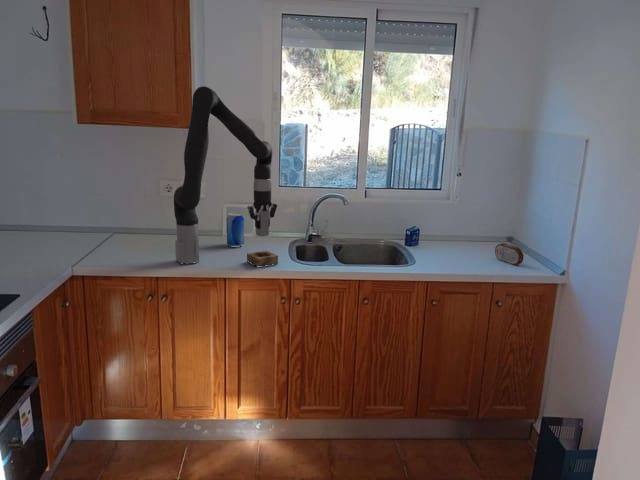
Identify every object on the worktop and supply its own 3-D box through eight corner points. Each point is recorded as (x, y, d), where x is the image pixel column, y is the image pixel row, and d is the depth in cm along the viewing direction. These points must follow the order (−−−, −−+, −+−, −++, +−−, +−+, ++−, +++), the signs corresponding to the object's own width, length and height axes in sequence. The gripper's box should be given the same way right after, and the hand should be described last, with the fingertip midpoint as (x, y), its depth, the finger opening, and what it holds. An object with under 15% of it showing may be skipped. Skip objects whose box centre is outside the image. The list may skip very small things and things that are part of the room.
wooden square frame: (257, 267, 231) (257, 259, 230) (246, 262, 239) (246, 253, 238) (277, 264, 237) (277, 255, 236) (266, 258, 245) (266, 250, 244)
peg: (260, 236, 233) (260, 211, 230) (256, 234, 236) (256, 209, 233) (268, 235, 235) (268, 210, 232) (264, 233, 238) (264, 209, 235)
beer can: (235, 249, 259) (235, 216, 255) (223, 246, 264) (222, 214, 260) (247, 245, 266) (247, 214, 262) (235, 242, 271) (235, 211, 267)
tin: (522, 266, 246) (525, 248, 244) (518, 267, 245) (520, 249, 242) (497, 258, 259) (499, 241, 257) (492, 258, 257) (494, 241, 255)
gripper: (252, 191, 223) (252, 231, 227) (281, 189, 231) (280, 227, 236) (243, 188, 229) (243, 228, 233) (272, 186, 237) (272, 224, 241)
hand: (262, 227), depth 234 cm, fingers closed on peg, 4 cm apart
